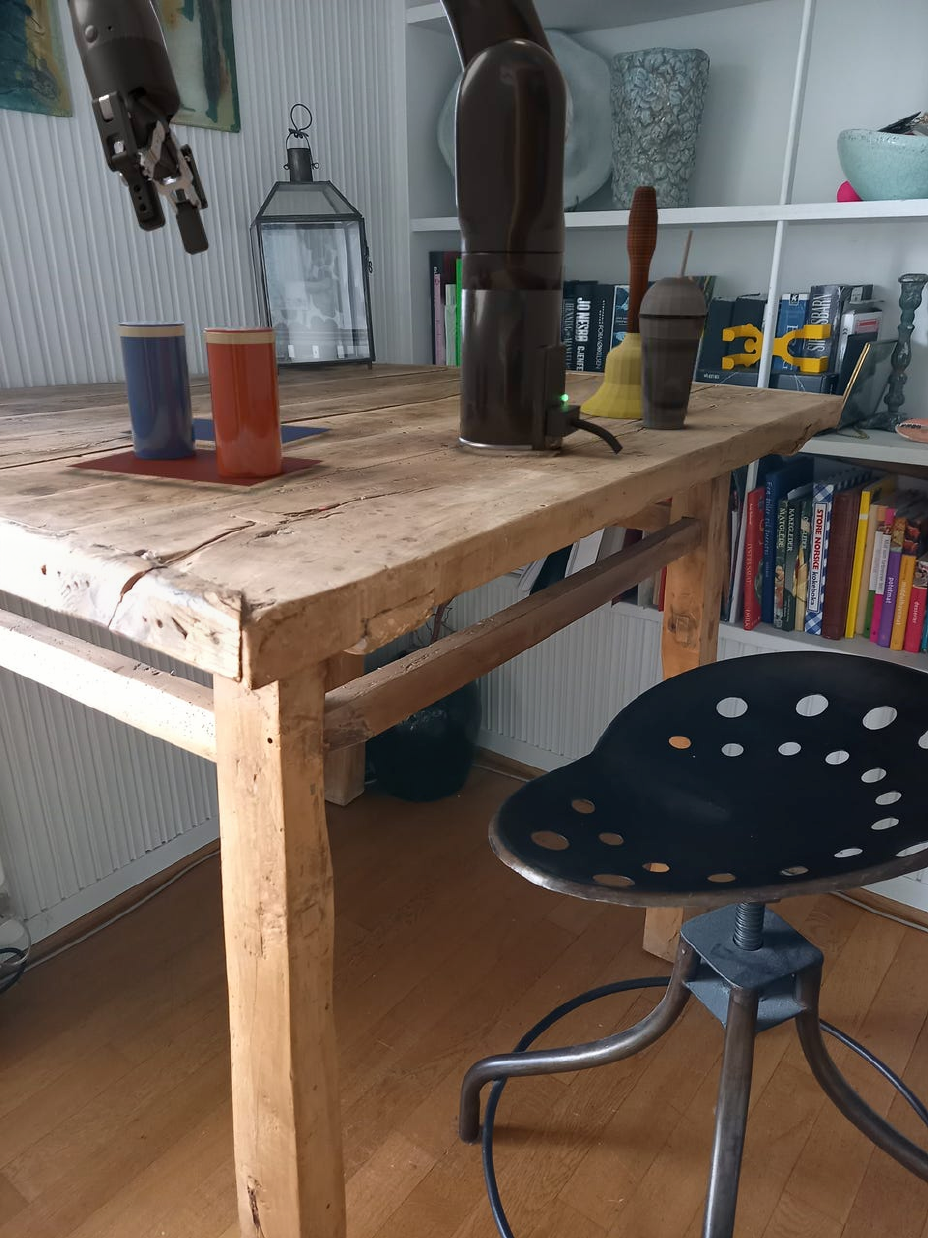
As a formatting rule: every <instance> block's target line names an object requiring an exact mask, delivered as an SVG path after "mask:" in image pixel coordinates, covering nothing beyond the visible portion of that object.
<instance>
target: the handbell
mask: <svg viewBox="0 0 928 1238" xmlns="http://www.w3.org/2000/svg"><path fill="white" fill-rule="evenodd" d="M634 190H635V191H634V194H633V198H632V203H631V207H630V210H629V214H628V223H627V236H626V249H627V254H628V260H629V287H628V300H627V317H626V318H627V319H626V331H625V334H624V338H623V340H622V341H621V342H620V343H619V344H618V345H617V346H615V347H613V348H612V349H610V350H609V352H608V353H607V355H606V359H605V366H604V381H603V382H602V384H601V385H600V387H599V388H598V390H597V392H595V394H593V396H591V397H590V398H589V399H587V400H586V401H585V402H583V403H582V405H581V406H580V413H583V414H585V415H590V416H594V417H603V418H611V419H612V418H613V419H634V420H643V419H642V388H641V336H640V330H639V318H638V314H639V313H640V307H641V303H642V300H643V298H644V296H645V294H646V293H647V291H648V290H649V275H650V268H651V263H652V260H653V257H654V255H655V251H656V248H657V241H658V229H659V228H658V227H659V210H658V201H657V191H656V189H655V187H654V186H653V185H639V186H637V187H636V188H635V189H634Z"/></svg>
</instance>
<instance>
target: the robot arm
mask: <svg viewBox="0 0 928 1238" xmlns="http://www.w3.org/2000/svg"><path fill="white" fill-rule="evenodd" d="M439 2H440V5H441V7H442V9H443V11H444V14H445V16H446V19H447V21H448V24H449V27H450V29H451V33H452V36H453V39H454V42H455V46H456V50H457V53H458V56H459V60H460V64H461V68H462V75H461V77H460V80H459V82H458V87H457V92H456V99H455V109H454V110H455V111H454V167H455V168H454V169H455V171H454V173H455V205H456V213H457V214H456V215H457V220H458V224H459V229H460V238H461V239H460V241H461V242H460V245H461V247H460V249H461V250H460V252H461V254H460V255H461V261H460V262H461V263H460V264H461V265H460V266H461V267H460V277H461V279H460V284H461V285H460V288H461V290H460V379H459V380H460V381H459V382H460V387H459V390H460V392H459V397H460V398H459V399H460V400H459V402H460V403H459V405H460V409H459V410H460V412H459V413H460V417H459V418H460V419H459V420H460V421H459V436H458V442H459V444H460V445H462V446H464V447H467V448H471V449H477V450H485V451H496V452H497V451H498V452H526V451H527V452H528V451H529V452H530V451H535V452H536V451H537V452H545V451H548V450H552V451H553V450H556V449H557V448H559V447H561V446H563V443H564V441H563V440H564V438H566V437H569V436H570V435H572V434H574V433H576V432H578V431H580V430H582V431H583V432H587V433H591V434H593V435H595V436H597V437H598V438H600V439H601V440H603V441H604V442H605V443H606V444H607V445H608V446H609V448H610V449H611V450H612V451H613V453H614V454H615V455H617V454H620V452H621V451H623V449H624V446H622V444H621V443H620V442H619V440H618V439H617V438H616V437H615V436H614V434H612V433H611V432H610V431H609V430H608V429H606V428H604V427H603V426H600V425H598V424H596V423H593V422H590V421H587V420H584V419H582V418H580V416H581V411H580V408H581V405H579V404H565V402H567V400H568V399H569V396H568V395H567V394H566V379H567V378H566V377H567V357H568V356H567V354H568V345H567V343H566V342H563V341H562V340H561V339H562V319H563V318H562V315H563V297H564V295H563V293H564V291H563V289H564V271H565V253H566V251H565V250H566V233H567V232H566V229H567V228H566V217H565V216H566V215H565V204H564V203H565V199H564V177H565V175H564V174H565V152H566V151H565V150H566V149H565V148H566V145H567V144H568V142H569V139H570V135H571V132H572V130H573V125H574V119H575V108H574V105H575V103H574V99H573V94H572V89H571V88H570V84H569V82H568V80H567V78H566V77H565V75H564V73H563V71H562V69H561V67H560V65H559V63H558V60H557V58H556V56H555V54H554V50H553V48H552V46H551V44H550V41H549V39H548V37H547V33H546V31H545V29H544V26H543V24H542V21H541V18H540V15H539V13H538V11H537V8H536V5H535V2H534V0H439ZM66 3H67V6H68V9H69V14H70V19H71V20H70V21H71V27H72V32H73V37H74V41H75V44H76V48H77V51H78V54H79V55H78V56H79V59H80V61H81V65H82V69H83V71H84V75H85V79H86V82H87V86H88V89H89V93H90V97H91V101H90V104H91V108H92V113H93V116H94V119H95V124H96V127H97V131H98V134H99V138H100V143H101V146H102V149H103V154H104V157H105V161H106V164H107V167H108V168H109V170H110V171H111V172H112V173H116V172H119V177H120V181H121V182H122V184H123V185H124V186H125V187H126V188H128V191H129V195H130V199H131V202H132V206H133V209H134V212H135V216H136V220H137V223H138V226H139V228H140V229H141V230H143V231H145V232H148V233H149V232H152V231H155V230H158V229H160V228H163V227H165V225H166V224H167V220H166V216H165V211H164V210H163V205H162V202H161V199H160V196H159V195H161V196H165V197H166V199H167V201H168V204H169V205H170V207H171V208H172V210H173V213H174V214H175V215H174V216H175V221H176V223H177V227H178V230H179V235H180V238H181V241H182V244H183V248H184V251H185V252H186V253H187V254H189V255H192V256H195V255H198V254H200V253H203V252H206V251H208V249H209V247H210V245H209V241H208V237H207V234H206V231H205V227H204V223H203V219H202V216H201V211H202V210H205V209H208V208H209V204H208V200H207V198H206V197H207V196H206V193H205V191H204V186H203V184H202V179H201V177H200V174H199V170H198V167H197V164H196V161H195V157H194V153H193V150H192V148H191V146H190V145H189V143H186V144H182V145H181V143H180V142H179V141H180V140H179V139H178V137H177V136H176V133H175V132H174V131H173V130H172V128H171V127H170V123H171V122H172V120H173V118H174V117H175V115H177V114H178V112H179V111H180V108H181V105H182V100H181V99H182V98H181V95H180V91H179V88H178V84H177V80H176V77H175V74H174V73H175V72H174V70H173V67H172V62H171V59H170V56H169V52H168V48H167V44H166V41H165V37H164V34H163V30H162V27H161V24H160V21H159V19H158V18H159V17H158V16H157V14H156V12H155V9H154V7H153V4H152V1H151V0H66ZM115 144H118V149H117V152H116V148H115ZM167 178H170V179H167ZM166 179H167V180H166Z"/></svg>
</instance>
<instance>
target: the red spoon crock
mask: <svg viewBox="0 0 928 1238" xmlns="http://www.w3.org/2000/svg"><path fill="white" fill-rule="evenodd" d="M203 335H204V343H205V351H206V361H207V371H208V372H207V373H208V384H209V395H210V404H211V416H212V417H211V418H212V420H213V428H214V439H215V441H214V450H216V462H217V472H218V474H219V475H222V476H225V477H232V478H259V477H267V476H273V475H277V474H280V473H282V472H283V471H284V467H283V457H284V453H283V452H284V451H283V444H282V436H281V425H282V421H281V409H280V408H281V407H280V394H279V393H280V392H279V390H280V389H279V377H278V376H279V375H278V361H277V345H276V342H277V336H276V329H275V327H272V326H258V325H257V326H255V325H254V326H253V325H250V326H249V325H248V326H247V325H245V326H244V325H242V326H240V325H239V326H238V325H237V326H236V325H235V326H234V325H233V326H232V325H230V326H209V327H205V328H204V330H203Z"/></svg>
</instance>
